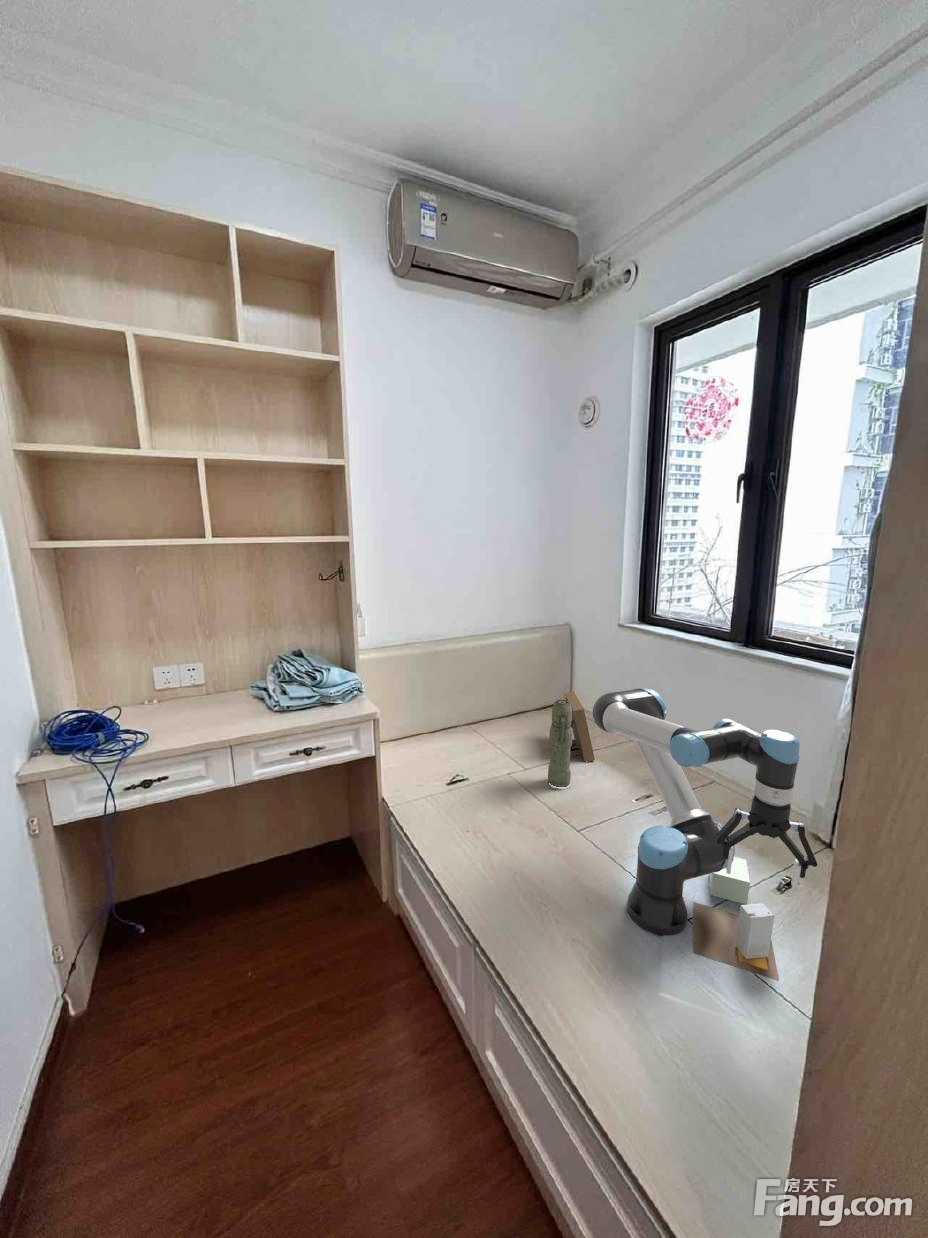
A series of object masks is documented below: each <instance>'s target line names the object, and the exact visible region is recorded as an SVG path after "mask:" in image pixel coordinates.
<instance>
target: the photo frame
mask: <svg viewBox="0 0 928 1238" xmlns="http://www.w3.org/2000/svg"><path fill="white" fill-rule="evenodd" d="M563 694H564V698H565V700H566V701H568V702H570V705H571V708H572V719H571V728H572V735H573V738H574V741H576V742H575V744H576V743H577V744H576V745H578V746H577V748H578V747H579V748H578V750H579V749H580V750H579V752H580V751H581V752H580V755H581V756H583V757H582V758H584V759H583V761H584V760H585V761H589V762H593V761H596V758H595V754H594V749H593V746H592V740H591V736H590V732H589V726H588V723H587V718H586V713H585V709H584V707H583V705H582V703H581V701H580V700H579V698H578V697H577V694H576V692H575V691H573V690H572V691H568V692H564V693H563ZM585 761H584V762H585Z"/></svg>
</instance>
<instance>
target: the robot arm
mask: <svg viewBox="0 0 928 1238" xmlns="http://www.w3.org/2000/svg"><path fill="white" fill-rule="evenodd" d="M666 710H667V706H666V703H665V701H664V699H663V697H662V696H661V695H660V694H659V693H658V692H656V691H655V690H653V689H650V688H647V687H646V688H641V687H639V688H633V689H627V690H620V691H614V692H613V691H612V692H607V693H604V694H603V695H601V696H599V697H598V699H596V701H595V702H594V704H593V707H592V711H591V712H592V718H593V721H594V723H595V724H596V725H597V726H598V728H600V729H601V730H602V731H604V732H606V733H609V734H611V735H614V736H615V735H623V736H626V737H628V738H631V739H633V740H635V741H636V743H637V745H638V747H639V749H640V752H641V754H642V756H643V758H644V761H645V763H646V765H647V767H648V770H649V772H650V774H651V776H652V778H653V781H654V783H655V785H656V788H657V789H658V791H659V793H660V796H661V798H662V800H663V802H664V805H665V808H666V809H667V812H668V814H669V817H670V818H671V820H670V823H669V826H666V827H665V826H664V825H654V826H650V827H648V828H646V829H645V830H644V831H643V832H642V834H641V835H640V838H639V842H638V845H637V864H636V865H637V866H636V875H635V877H636V878H635V882H634V885H633V886H632V888H631V890H630V892H629V894H628V897H627V904H626V908H627V912H628V915H629V917H630V918H631V920H632V922H634V923H635V924H636V925H637V926H638V927H640V928H641V929H643V930H644V931H646V932H648V933H651V934H653V935H656V936H662V937H664V936H675V935H678V934H681V933H683V931H685V929H686V928H687V925H688V918H689V917H688V910H687V906H686V903H685V900H684V899H685V898H684V895H683V891H684V883H685V882H686V881H689V880H691V879H695V878H700V877H702V876H705V875H709V874H710V873H714V872H719V871H721V870H722V869H725V868H726V871H727V874H730V872H731V865H732V862H733V860H734V857H735V854H736V848H735V845H737V844H739V843H741V842H742V841H744V840H746V838H747V839H748V837H751V836H754V835H755V834H759V835H760V836H763V837H765V836H766V837H769V838H773V839H776V838H779V839H780V840H781V841H782V843H783V844H784V845H785V846H786V847H787V849H788V850H789V851H790V852H791V854H792V855H793V856H794V857H795V858H794V863H793V868H792V876H791V882H790V884H791V888H792V891H794V892H798V890H799V882H800V878H801V879H805V877H806V872H807V870H808V869H809V867H816V868H817V867H818V862H817V860H816V856H815V854H814V852H813V850H812V848H811V845H810V843H809V840H808V838H807V836H806V828H805V825H804V822H803V821H802V820H797V821H796V822H794V821H790V815H791V810H792V804H791V803H792V801H793V796H794V795H793V794H794V788H795V781H796V780H795V779H796V774H797V769H798V764H799V761H800V740H799V739H798V738H797V737H796V736H795V735H793V734H791V733H789V732H787V731H782V730H778V729H766V730H764V731H762V732H760V731H757V730H755V729H754V728H751V727H749V726H747V725H745V724H743V722H739V721H736V720H733V719H731V718H723V719H720V720H719V721H718V722H716V723H715V724H714V725H713V726H712V728H711V729H703V730H696V729H692V728H690V727H686V726H683V725H680V724H677V723H673V722H671V721H668V720H665V719H666V718H667V711H666ZM737 758H738V759H742V760H743V761H745V762H747V763H749V764H750V765H753V766H755V779H754V784H753V794H752V797H751V805H750V811H749V812H746V811H743V810H741V808H740V807H735V809H734V811H733V812H734V813H733V815H732V816H731V817H730V818H729V819H728V820H727V822H726V823H725V824H724V825H723V824H722V823H721V822H718V821H717V822H716V821H715V820H714V819H713V817H712V816H711V813H709V812H707V811H705V810H703V809H702V807H701V806H700V803H699V801H698V800H697V797H696V796H695V795H696V794H695V793H694V791H693V789H692V787H691V785H690V782H689V781H688V779H687V776H686V775H685V773H684V771H683V768H692V767H694V768H696V767H700V766H703V765H707V764H712V763H718V762H722V761H727V760H731V759H732V760H733V759H737ZM682 767H683V768H682ZM745 819H747V820H748V821H749V822H747V823H746V824H745V825H744V826H742V827H741V828H739V829H737V830H736V831H734V830H735V829H736V828H737V827H738V826H739V825H740V823H741V822H743V821H744V820H745ZM790 829H792V830H793V832H794V833H796V834H797V835H798V838H799V840H800V842H801V845H802V848H803V849H804V851H805V854H806V856H805V855H804V854H803V853H802V851H801V850H800V848H798V846H797V845H796V844H795V843H794V841H793V839H791V837H790V836H789V835H788V833H787V832H788V831H789V830H790ZM733 831H734V832H733ZM732 832H733V833H732Z"/></svg>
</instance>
